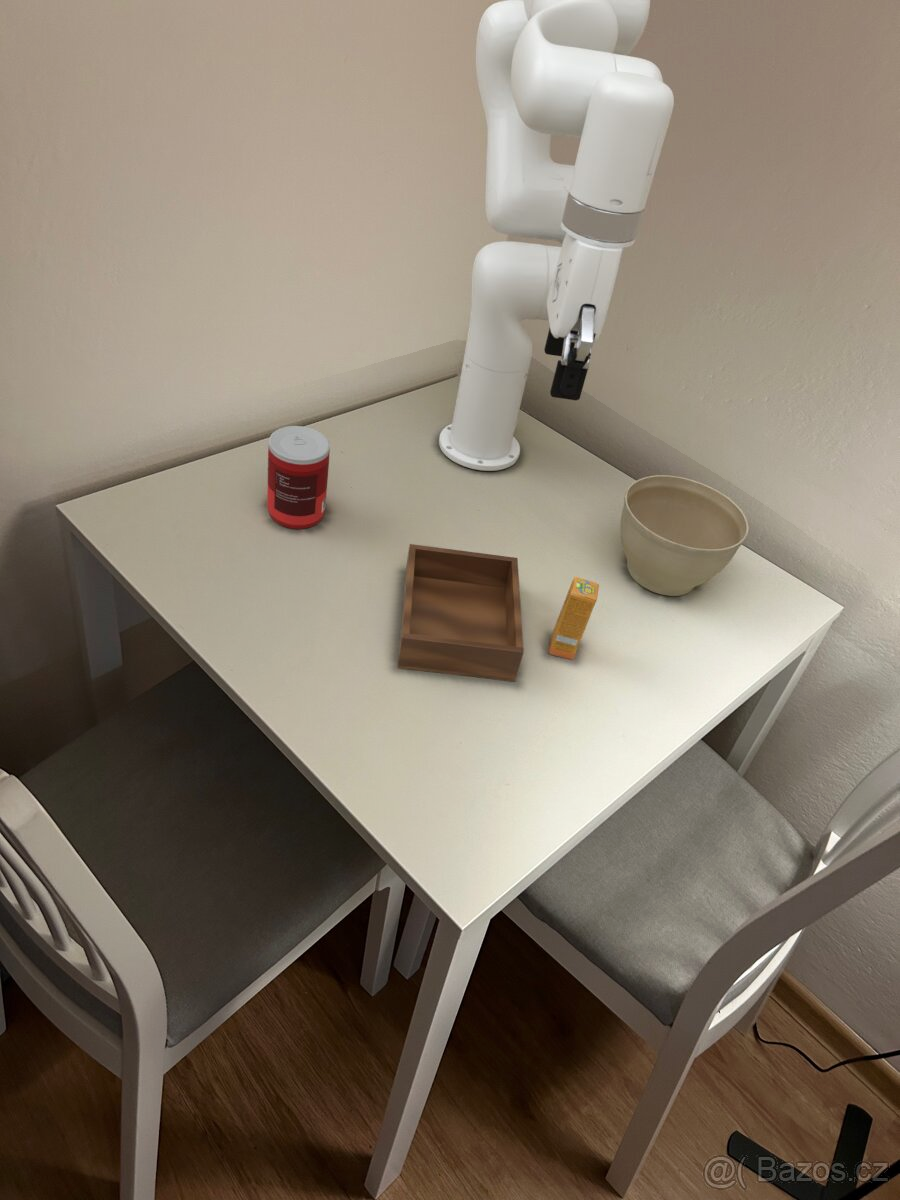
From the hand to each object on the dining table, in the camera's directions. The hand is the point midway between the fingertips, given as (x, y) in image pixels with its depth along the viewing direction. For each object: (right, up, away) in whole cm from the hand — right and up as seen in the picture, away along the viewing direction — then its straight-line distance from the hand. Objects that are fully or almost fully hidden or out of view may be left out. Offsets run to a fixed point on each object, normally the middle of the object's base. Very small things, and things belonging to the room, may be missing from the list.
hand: (560, 375), depth 99 cm
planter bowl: (+16, -21, +23) cm, 36 cm away
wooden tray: (-11, -28, +9) cm, 32 cm away
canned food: (-33, -13, +21) cm, 41 cm away
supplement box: (+1, -31, +9) cm, 32 cm away
